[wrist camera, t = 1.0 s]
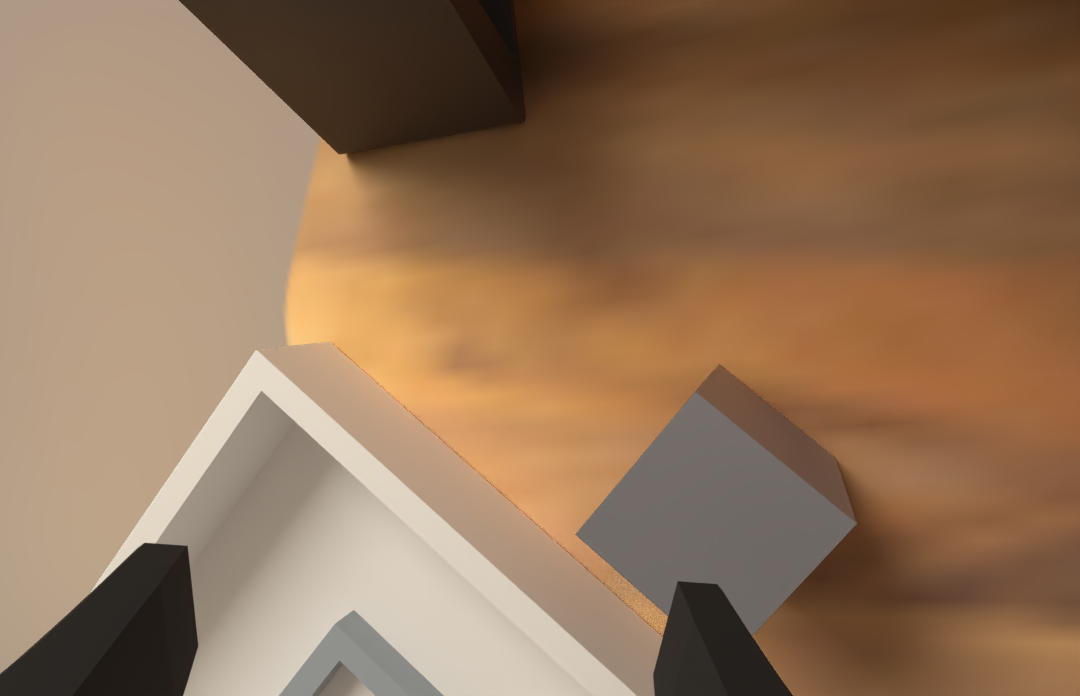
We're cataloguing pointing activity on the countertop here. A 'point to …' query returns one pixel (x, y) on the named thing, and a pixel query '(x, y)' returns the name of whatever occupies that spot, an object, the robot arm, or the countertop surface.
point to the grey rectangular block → (724, 504)
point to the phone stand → (379, 64)
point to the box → (372, 555)
